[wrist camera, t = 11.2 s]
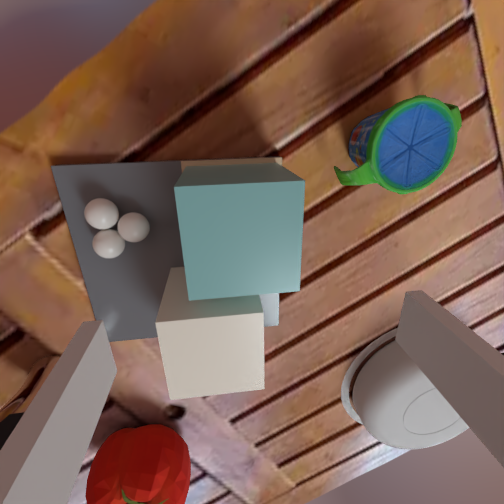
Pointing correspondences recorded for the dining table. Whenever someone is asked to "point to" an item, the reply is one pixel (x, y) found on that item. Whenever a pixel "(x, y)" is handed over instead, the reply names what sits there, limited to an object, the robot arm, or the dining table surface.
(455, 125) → the snack cup
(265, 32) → the dining table surface
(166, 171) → the board
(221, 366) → the ivory cuboid
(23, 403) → the beer glass
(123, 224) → the marble
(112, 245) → the marble
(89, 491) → the tomato
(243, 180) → the seafoam cube
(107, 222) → the marble
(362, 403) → the round ceiling alarm
